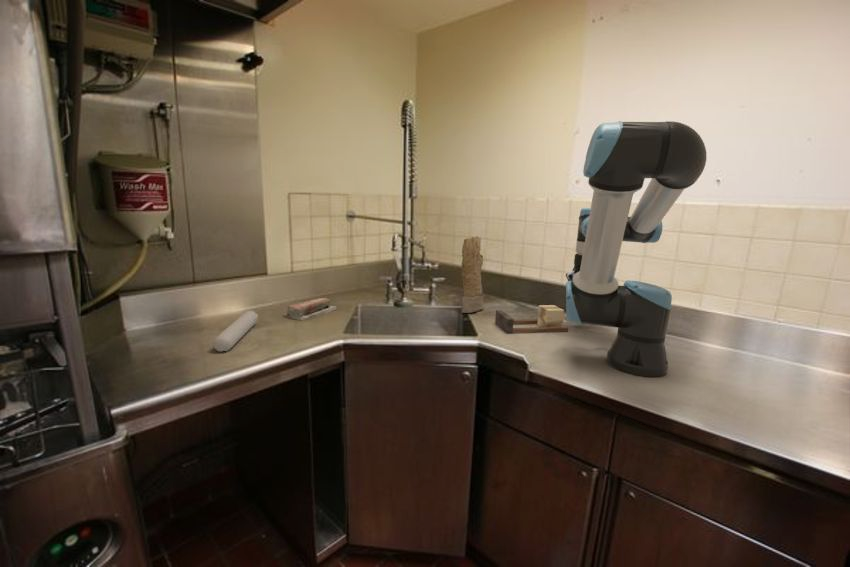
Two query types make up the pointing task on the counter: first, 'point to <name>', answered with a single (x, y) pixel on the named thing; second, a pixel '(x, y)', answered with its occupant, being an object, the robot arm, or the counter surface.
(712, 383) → the counter surface
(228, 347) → the tube
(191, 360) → the counter surface
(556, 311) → the block
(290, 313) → the packaged product
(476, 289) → the glove
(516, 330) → the guide channel
